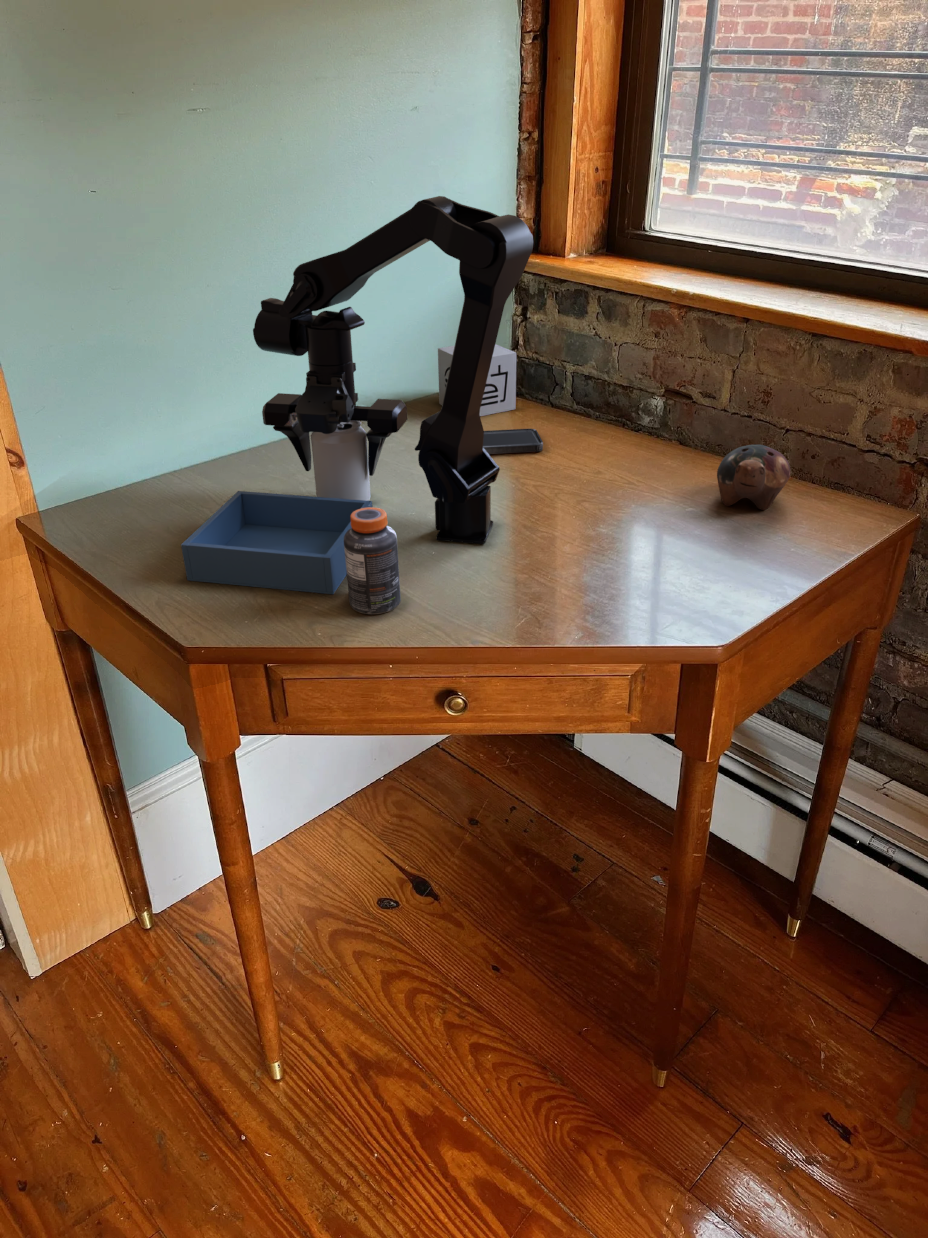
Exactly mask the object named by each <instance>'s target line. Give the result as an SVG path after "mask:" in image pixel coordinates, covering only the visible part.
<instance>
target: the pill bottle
mask: <svg viewBox="0 0 928 1238" xmlns="http://www.w3.org/2000/svg"><path fill="white" fill-rule="evenodd" d="M350 517H351V527H352V528H350V529H349V530H348V531H347V532H346V534H345V536H344V550H345V561H346V572H347V575H346V580H347V591H348V602H349V605H350V607H351V608H352V610H354V611H355V612H358V613H361V614H363V615H364V614H365V615H381V614H385V613H388V612H391V611H392V610H394V609H395V608H397V607H398V606H399V605H400V603H401V601H402V600H401V599H402V597H401V584H400V567H399V566H400V564H399V550H398V549H399V548H398V537H397V536H398V535H397V533H396V531H395V530H394V528H392V527H391V526H389V525H388V523H389V522H388V521H389V520H388V514H387V512H386V510H384V509H383V508H379V507H374V506H372V507H367V508H361V509H358V510H355V511H354V512H352V514H351V516H350Z"/></svg>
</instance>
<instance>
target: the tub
mask: <svg viewBox="0 0 928 1238" xmlns="http://www.w3.org/2000/svg"><path fill="white" fill-rule="evenodd" d="M367 507H373V500H369V501H364V500H351V499H338V498H325V497H317V496H311V495H310V496H309V495H298V494H297V495H296V494H287V493H286V494H285V493H274V492H273V493H271V492H260V491H259V492H258V491H245V490H237V491H236V492H235V493H234V494H233V495H232V496H231V497H230V498H229V499H228V500H227V501H226V502H224V504H223V505H221V506H220V507H219V508H218V509H217V510H216V511H215V512H214V513H213V514H212V515H211V516H210V517H208V518H207V519H206V521H205V522H203V523H202V524H201V525H200V526H199V527H198V528H197V529H196V530H195V531H194V532H193V533H191V534H190V535H189V536H188V538H186V539H185V540H184V541H183V542H182V543H181V544H180V548H181V553H182V557H183V558H182V560H183V563H184V569H185V576H186V580H187V581H189V582H202V583H209V584H210V583H211V584H221V585H231V586H241V587H242V586H243V587H251V588H252V587H254V588H264V589H272V590H273V589H274V590H284V591H295V592H304V593H314V594H315V593H316V594H323V595H324V594H325V595H334V594H335V593H336V592H337V589H339V587H340V585H341V584H342V582H343V581H344V579H345V578H347V572H346V561H345V550H344V536H345V534H346V532H347V531H348V530H349V529H350V528H352V527H351V517H350V516H351V514H352V512H354V511H355V510H358V509H361V508H367Z"/></svg>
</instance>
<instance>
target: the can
mask: <svg viewBox="0 0 928 1238" xmlns="http://www.w3.org/2000/svg"><path fill="white" fill-rule="evenodd" d="M361 425H362V421H354V420H350V422H349V423H345V422H341V423H340V424H337V429H336V430H335V431H334V432H333V433H331V434H323V433H322V432H311V434H310V445H311V455H312V465H313V473H314V484H315V485H314V486H315V493H316V497H325V498H338V499H351V500H364V501H371V500H370V499H371V485H370V484H371V483H370V475H369V469H368V439H367V436H366V433H367V432H366V430H365V429H364V427H363V426H361Z"/></svg>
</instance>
